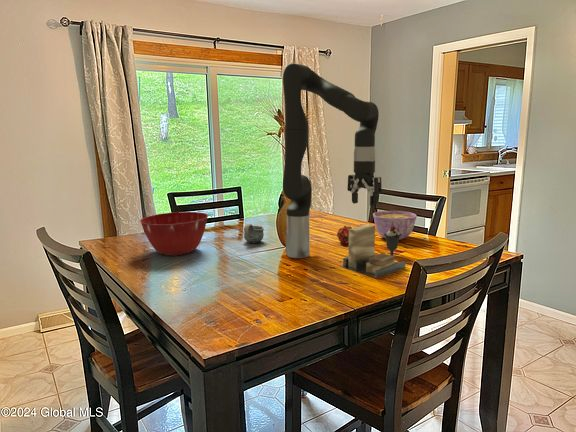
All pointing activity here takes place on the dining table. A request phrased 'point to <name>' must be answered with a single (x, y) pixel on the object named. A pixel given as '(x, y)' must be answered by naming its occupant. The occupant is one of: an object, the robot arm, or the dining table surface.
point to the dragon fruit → (344, 235)
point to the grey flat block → (373, 268)
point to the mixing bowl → (175, 231)
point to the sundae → (392, 239)
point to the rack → (361, 268)
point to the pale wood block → (361, 243)
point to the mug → (253, 233)
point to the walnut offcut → (381, 259)
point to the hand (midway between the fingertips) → (363, 204)
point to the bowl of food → (394, 222)
